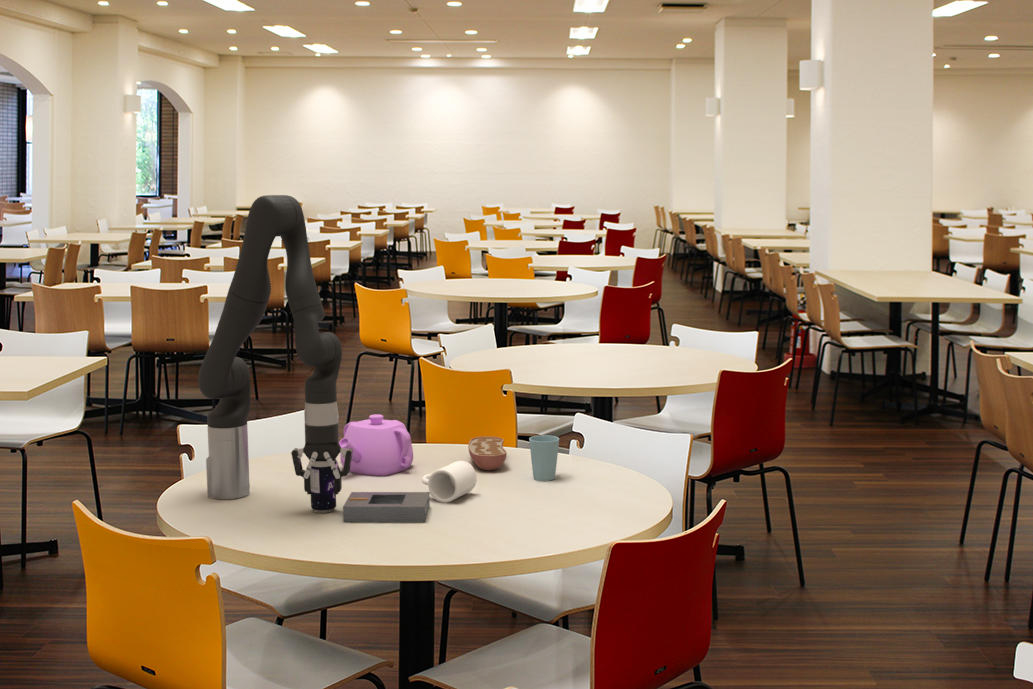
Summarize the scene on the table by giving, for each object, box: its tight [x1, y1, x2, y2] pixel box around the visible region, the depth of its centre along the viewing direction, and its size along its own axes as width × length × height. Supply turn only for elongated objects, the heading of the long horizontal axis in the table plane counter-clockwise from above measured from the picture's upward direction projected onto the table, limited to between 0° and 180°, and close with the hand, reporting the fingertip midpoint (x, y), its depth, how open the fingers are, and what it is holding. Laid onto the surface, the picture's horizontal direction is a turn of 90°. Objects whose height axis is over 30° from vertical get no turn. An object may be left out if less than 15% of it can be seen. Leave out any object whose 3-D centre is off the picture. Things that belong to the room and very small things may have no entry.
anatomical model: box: [467, 435, 507, 471], centre depth 288 cm, size 23×10×5 cm, turn 4°
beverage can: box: [310, 461, 337, 514], centre depth 244 cm, size 6×6×12 cm
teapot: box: [339, 413, 414, 477], centre depth 281 cm, size 19×21×14 cm
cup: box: [528, 434, 560, 482], centre depth 272 cm, size 8×8×10 cm
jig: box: [342, 491, 431, 523], centre depth 241 cm, size 18×12×4 cm, turn 90°
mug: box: [421, 460, 478, 504], centre depth 256 cm, size 12×10×8 cm
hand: (323, 493), depth 244 cm, fingers closed on beverage can, 5 cm apart
